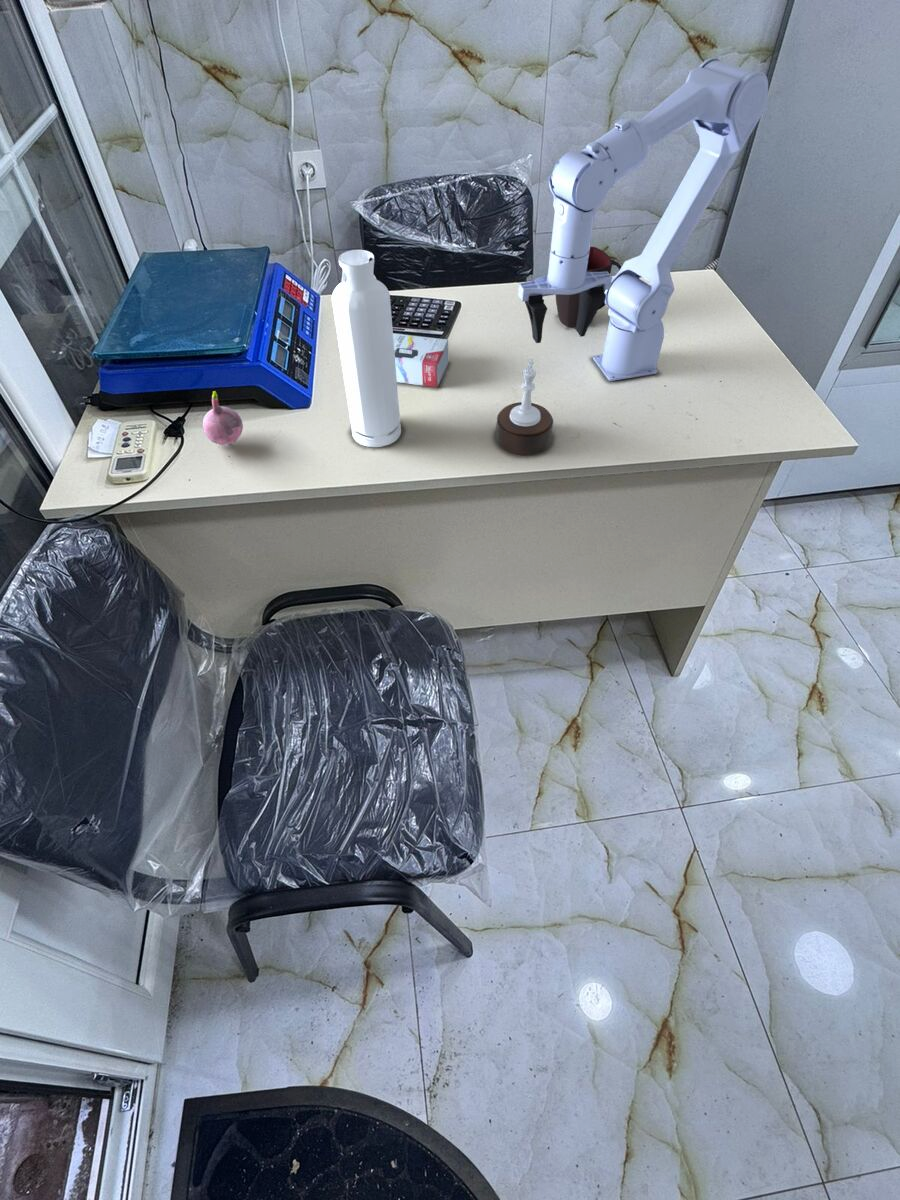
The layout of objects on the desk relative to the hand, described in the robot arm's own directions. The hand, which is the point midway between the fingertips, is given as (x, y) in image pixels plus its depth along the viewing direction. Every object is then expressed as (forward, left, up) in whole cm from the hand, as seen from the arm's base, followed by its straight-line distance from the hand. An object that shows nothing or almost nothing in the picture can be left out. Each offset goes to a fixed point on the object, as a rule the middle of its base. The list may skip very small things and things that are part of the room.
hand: (558, 336), depth 106 cm
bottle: (+32, +3, -11) cm, 34 cm away
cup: (-15, -22, -11) cm, 29 cm away
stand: (+9, +11, -10) cm, 18 cm away
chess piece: (+9, +11, -7) cm, 16 cm away
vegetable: (+56, 0, -11) cm, 57 cm away
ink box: (+17, -10, -8) cm, 21 cm away
